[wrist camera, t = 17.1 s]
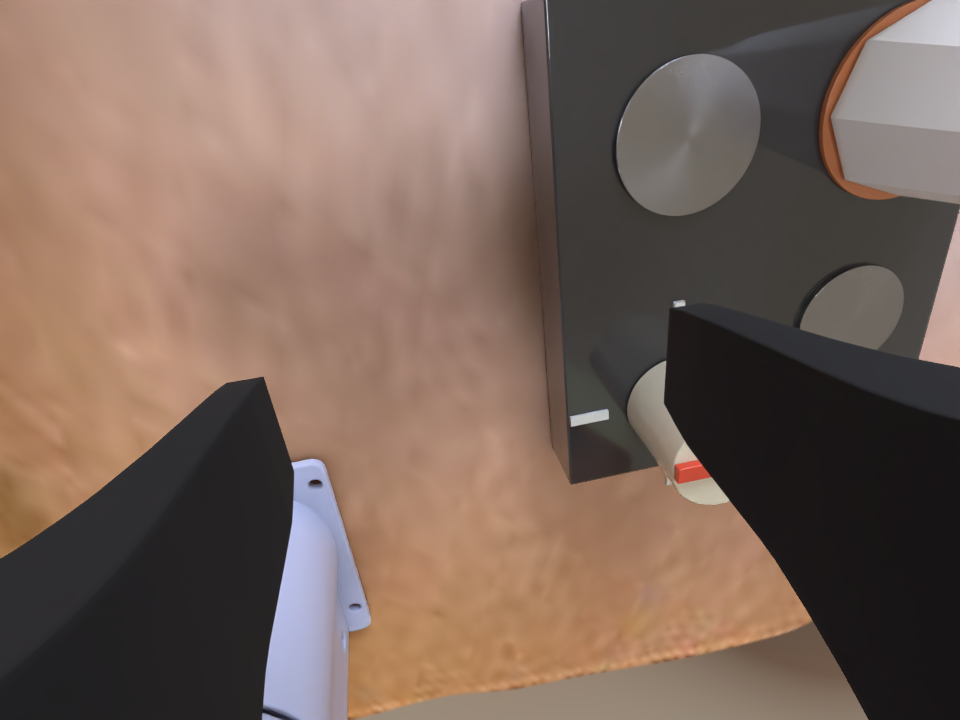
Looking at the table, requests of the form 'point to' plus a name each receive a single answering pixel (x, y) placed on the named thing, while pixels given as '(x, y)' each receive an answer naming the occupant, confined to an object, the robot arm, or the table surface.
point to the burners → (726, 156)
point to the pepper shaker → (905, 108)
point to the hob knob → (669, 440)
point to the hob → (707, 233)
